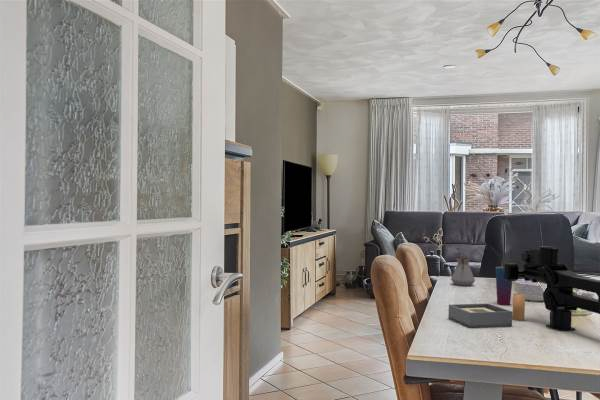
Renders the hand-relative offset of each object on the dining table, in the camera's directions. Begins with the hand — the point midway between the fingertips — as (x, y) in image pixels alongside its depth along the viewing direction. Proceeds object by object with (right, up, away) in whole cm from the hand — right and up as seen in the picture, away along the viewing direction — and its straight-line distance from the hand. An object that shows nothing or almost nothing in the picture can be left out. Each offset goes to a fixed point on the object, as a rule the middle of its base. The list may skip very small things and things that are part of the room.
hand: (514, 269), depth 202 cm
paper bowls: (+20, -17, +28) cm, 38 cm away
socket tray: (-20, -16, -18) cm, 31 cm away
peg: (-3, -17, -12) cm, 21 cm away
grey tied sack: (-1, -17, +60) cm, 62 cm away
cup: (+2, -17, +16) cm, 23 cm away
